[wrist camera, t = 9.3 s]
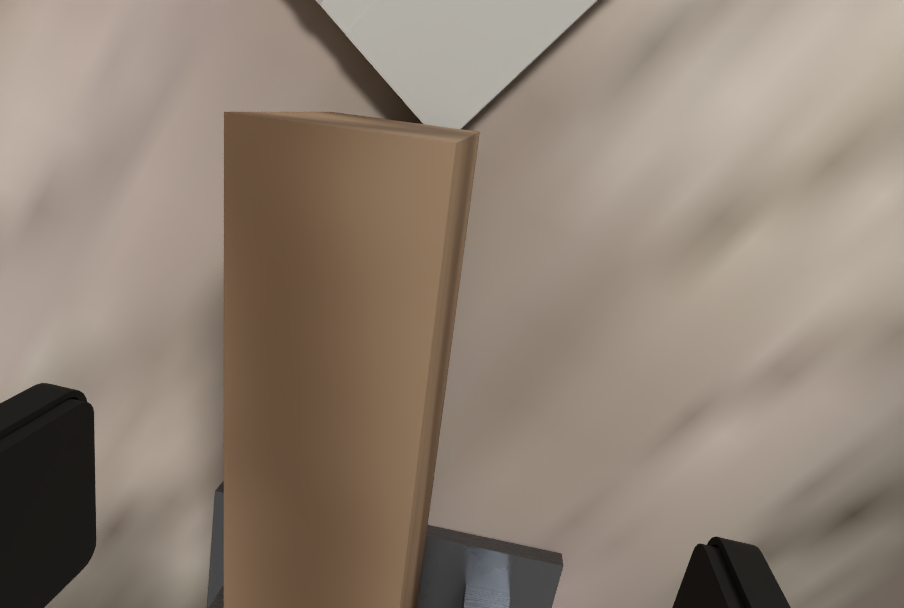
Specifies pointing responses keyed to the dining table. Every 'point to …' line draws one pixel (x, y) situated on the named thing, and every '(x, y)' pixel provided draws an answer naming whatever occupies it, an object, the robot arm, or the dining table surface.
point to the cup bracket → (447, 570)
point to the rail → (336, 351)
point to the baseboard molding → (452, 47)
